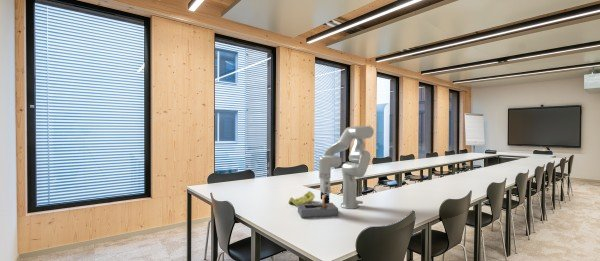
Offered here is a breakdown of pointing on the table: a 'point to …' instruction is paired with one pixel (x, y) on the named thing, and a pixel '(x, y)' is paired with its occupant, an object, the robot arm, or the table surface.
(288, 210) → the table surface
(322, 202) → the peg
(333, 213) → the keyhole plate
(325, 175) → the robot arm
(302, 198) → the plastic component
